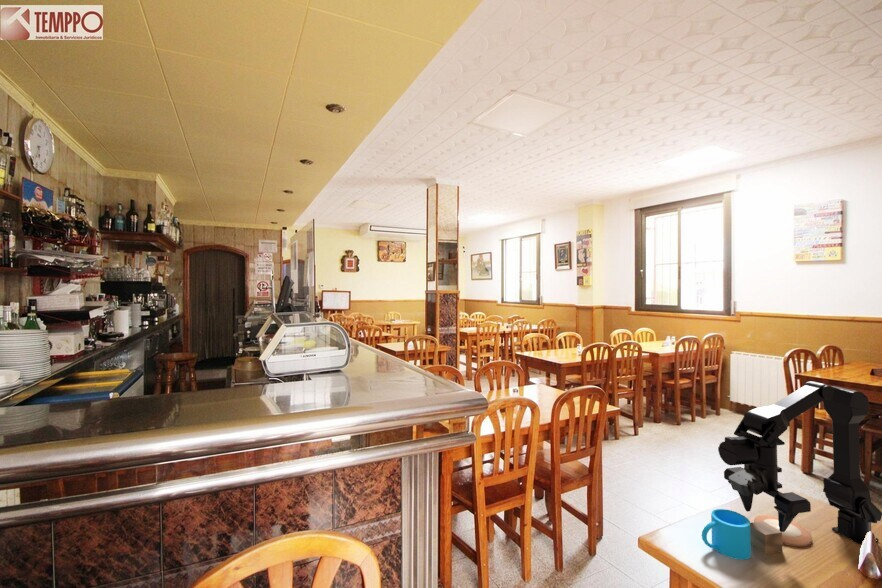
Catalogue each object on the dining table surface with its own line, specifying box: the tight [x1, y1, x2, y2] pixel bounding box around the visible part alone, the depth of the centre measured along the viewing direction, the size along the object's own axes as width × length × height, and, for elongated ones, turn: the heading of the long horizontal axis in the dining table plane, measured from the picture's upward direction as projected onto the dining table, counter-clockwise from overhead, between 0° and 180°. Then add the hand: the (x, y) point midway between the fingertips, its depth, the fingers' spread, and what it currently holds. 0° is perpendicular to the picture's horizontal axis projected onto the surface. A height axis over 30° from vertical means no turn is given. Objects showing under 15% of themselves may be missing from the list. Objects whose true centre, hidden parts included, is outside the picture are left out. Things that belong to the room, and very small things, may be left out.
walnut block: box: [750, 521, 783, 555], centre depth 102 cm, size 5×5×5 cm
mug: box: [701, 508, 752, 560], centre depth 102 cm, size 12×8×8 cm
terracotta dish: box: [753, 514, 813, 548], centre depth 108 cm, size 12×12×1 cm
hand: (764, 520), depth 102 cm, fingers open, 9 cm apart
